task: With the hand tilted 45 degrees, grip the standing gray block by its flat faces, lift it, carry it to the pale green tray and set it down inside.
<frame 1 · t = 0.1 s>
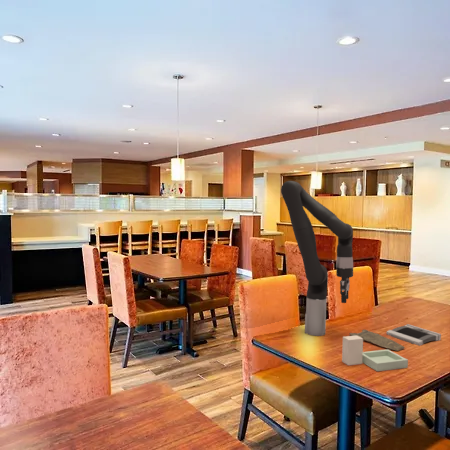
hand: (344, 300, 186), 17 cm above the table, tool pointing down, fingers open, 8 cm apart
stone tool: (377, 343, 181), on the table
pale green tray: (382, 363, 156), on the table
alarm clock: (412, 338, 188), on the table
gray block: (352, 362, 156), on the table
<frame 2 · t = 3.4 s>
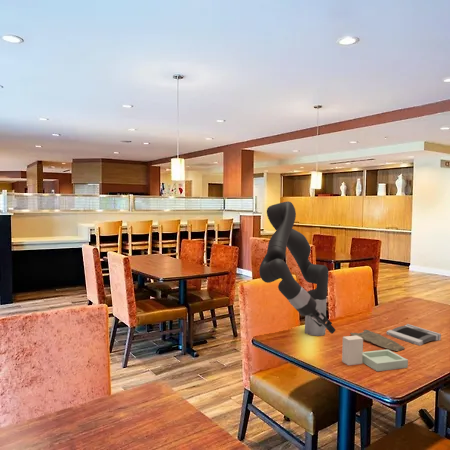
hand: (327, 328, 152), 15 cm above the table, tool tilted 45°, fingers open, 8 cm apart
nothing on the table moved.
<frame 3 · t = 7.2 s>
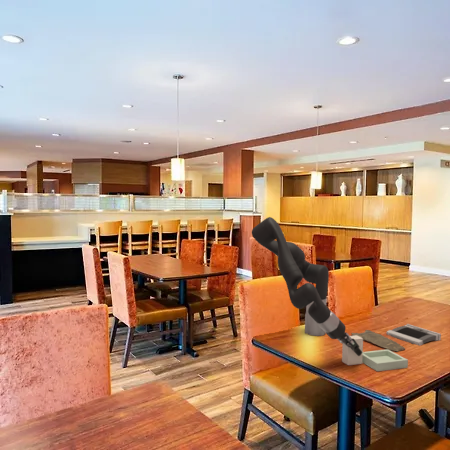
hand: (356, 351, 157), 4 cm above the table, tool tilted 45°, fingers closed on gray block, 4 cm apart
gray block: (352, 362, 156), on the table, touching gripper
everything else where it was.
when the fingers open (6 cm above the table, at t = 13.4 s): gray block drops 1 cm, resting on pale green tray.
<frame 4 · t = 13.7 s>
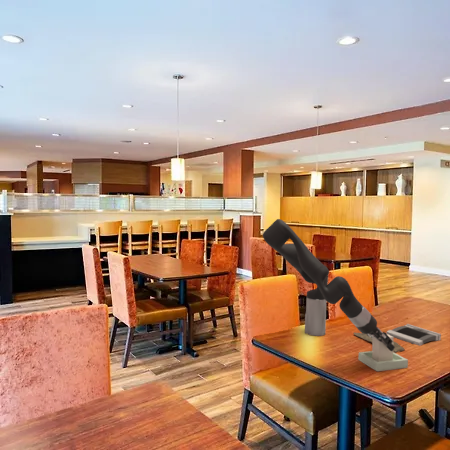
hand: (386, 346, 156), 7 cm above the table, tool tilted 45°, fingers open, 6 cm apart
gray block: (382, 361, 156), point 1 cm above the table, touching pale green tray
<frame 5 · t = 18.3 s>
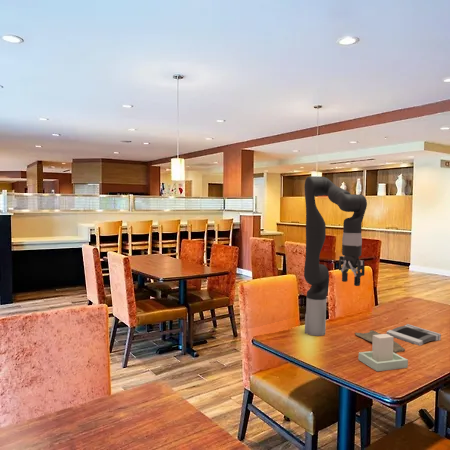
hand: (350, 283, 161), 30 cm above the table, tool pointing down, fingers open, 8 cm apart
at the end: gray block inside the target area on the pale green tray (0.1 cm from its centre), point 1.0 cm above the pale green tray's base; gray block touching pale green tray; the gripper is holding nothing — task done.
